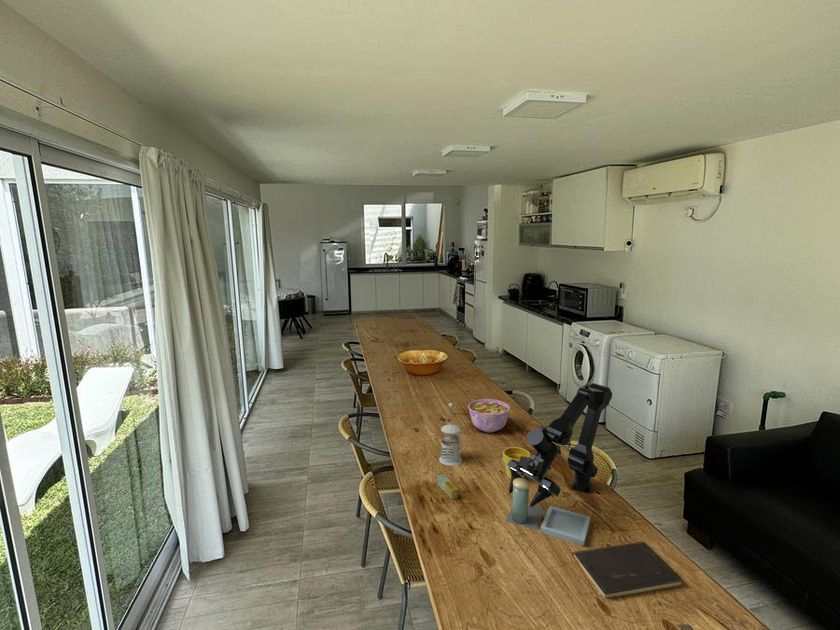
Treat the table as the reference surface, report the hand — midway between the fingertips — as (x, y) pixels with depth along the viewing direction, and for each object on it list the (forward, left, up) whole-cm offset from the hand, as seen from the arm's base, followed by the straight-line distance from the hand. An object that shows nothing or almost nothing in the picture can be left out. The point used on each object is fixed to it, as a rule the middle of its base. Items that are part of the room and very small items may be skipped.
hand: (519, 499), depth 143 cm
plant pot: (-26, -9, -8) cm, 29 cm away
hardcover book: (+8, +32, -8) cm, 34 cm away
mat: (-3, +1, -8) cm, 8 cm away
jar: (0, 0, -7) cm, 7 cm away
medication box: (-5, -28, -8) cm, 30 cm away
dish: (-3, +14, -8) cm, 16 cm away
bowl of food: (-62, -33, -8) cm, 71 cm away
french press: (-26, -36, -8) cm, 45 cm away
